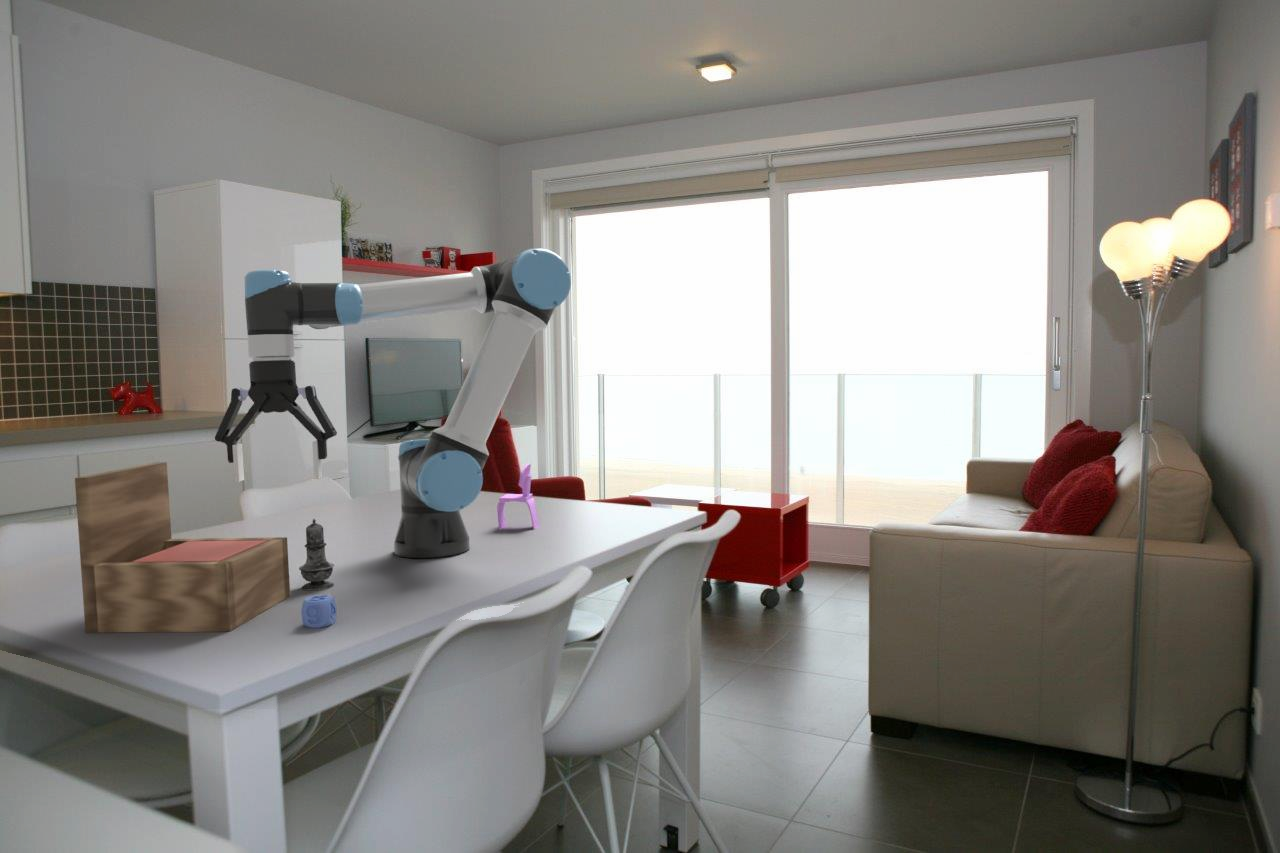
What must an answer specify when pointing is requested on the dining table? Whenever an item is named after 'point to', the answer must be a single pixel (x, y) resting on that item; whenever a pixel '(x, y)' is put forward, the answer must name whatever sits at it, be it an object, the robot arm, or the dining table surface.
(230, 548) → the trapdoor
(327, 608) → the decorative dice
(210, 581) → the wooden box
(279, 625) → the dining table surface
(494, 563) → the dining table surface
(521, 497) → the toy chair
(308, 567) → the salt shaker
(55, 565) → the dining table surface
